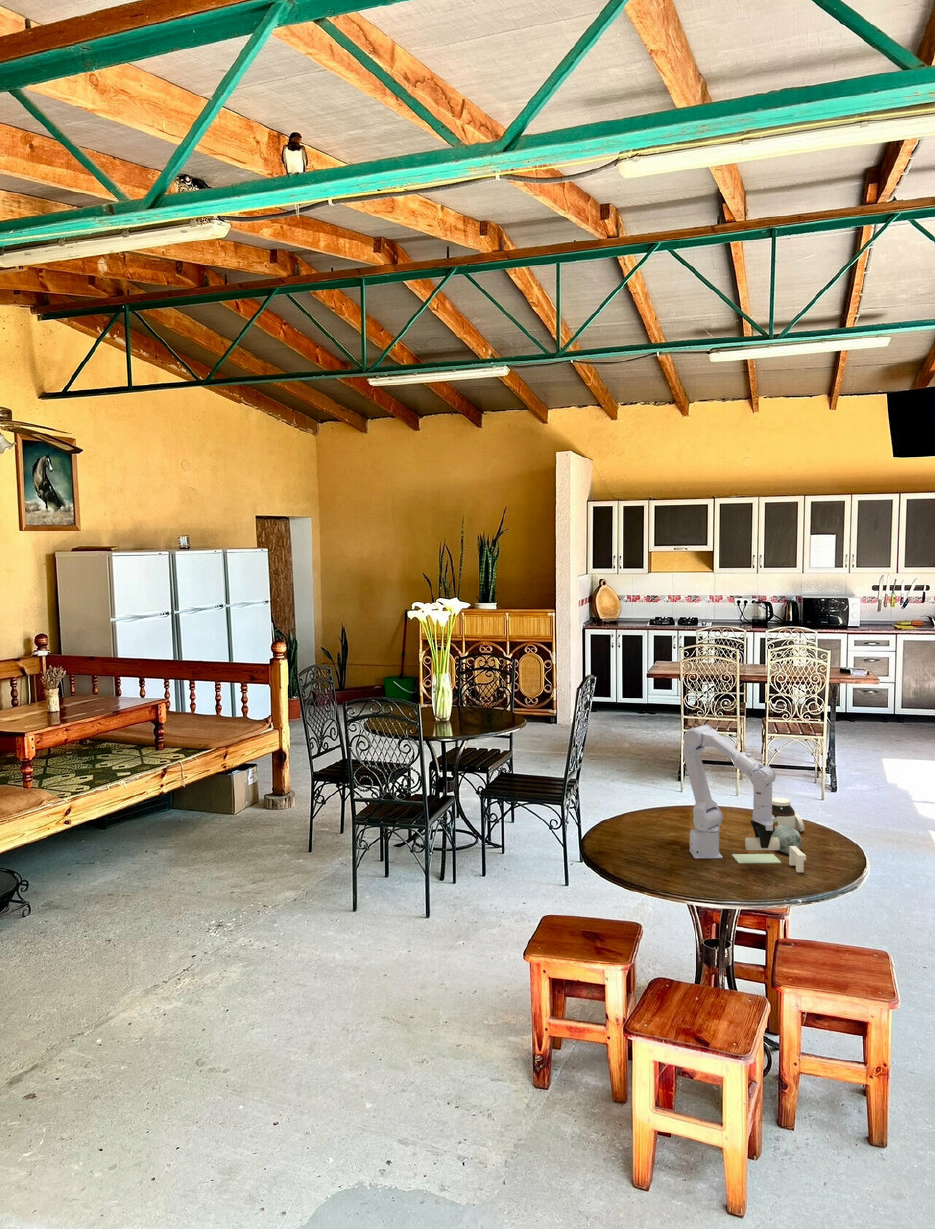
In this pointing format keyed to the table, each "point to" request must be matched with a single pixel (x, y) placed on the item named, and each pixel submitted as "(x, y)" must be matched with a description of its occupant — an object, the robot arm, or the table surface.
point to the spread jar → (785, 814)
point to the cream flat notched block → (796, 858)
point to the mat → (756, 858)
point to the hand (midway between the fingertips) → (762, 845)
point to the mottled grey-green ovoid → (787, 837)
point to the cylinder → (755, 845)
